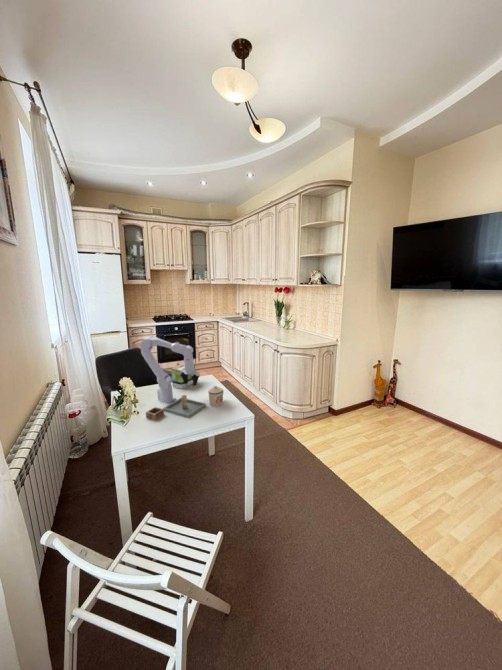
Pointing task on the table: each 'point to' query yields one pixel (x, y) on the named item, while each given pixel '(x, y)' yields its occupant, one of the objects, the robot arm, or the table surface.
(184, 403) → the dowel
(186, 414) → the tray
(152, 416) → the wooden roll holder
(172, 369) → the tea box
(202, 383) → the table surface
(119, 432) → the table surface
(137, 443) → the table surface
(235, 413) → the table surface
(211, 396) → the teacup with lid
